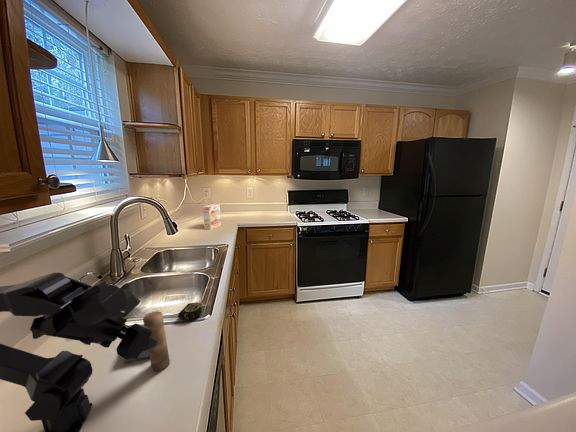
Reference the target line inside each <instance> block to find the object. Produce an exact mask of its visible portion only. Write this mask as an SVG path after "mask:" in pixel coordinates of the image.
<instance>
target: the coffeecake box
mask: <svg viewBox="0 0 576 432" xmlns="http://www.w3.org/2000/svg"><path fill="white" fill-rule="evenodd" d="M202 215H203V225H204V229H205V230H213V229H215V228H218V227H221V226H222V217H221V216H222V215H221V204H220V203H212V204H208V205H203V206H202Z"/></svg>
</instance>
